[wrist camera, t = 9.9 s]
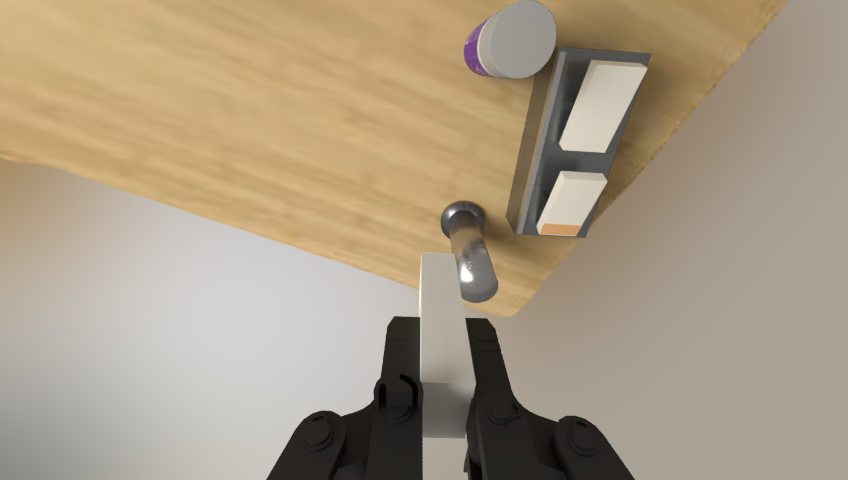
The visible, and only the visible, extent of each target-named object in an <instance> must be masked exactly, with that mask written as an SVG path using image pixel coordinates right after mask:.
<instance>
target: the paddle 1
mask: <svg viewBox="0 0 848 480" xmlns="http://www.w3.org/2000/svg"><path fill="white" fill-rule="evenodd" d="M647 69H648V68H647V67H645V66H644V65H642V64H640V63H629V62H615V61H601V60H591V62H590V65H589V68H588V70H587V73H586V75H585V78H584V80H583V83H582V86H581V88H580V91H579V93H578V96H577V98H576V101H575V104H574V106H573V109H572V111H571V114H570V116H569V119H568V122H567V124H566V127H565V129H564V132H563V135H562V137H561V140H560V142H559V145H560V146H561V148H562V149H563V150H569V151H584V152H600V153H605V151H606V149H607V147H608V145H609V143H610V141H611V139H612V137H613V136H614V134H615V132H616V130H617V128H618V126H619V124H620V122H621V120H622V118H623V116H624V114H625V112H626V110H627V108H628V106H629V104H630V102H631V100H632V98H633V96H634V94H635V92H636V90H637V88H638V86H639V84H640V83H641V81H642V79H643V77H644V75H645V73H646V71H647Z"/></svg>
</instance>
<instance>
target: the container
mask: <svg viewBox="0 0 848 480" xmlns="http://www.w3.org/2000/svg"><path fill="white" fill-rule="evenodd" d="M556 38H557V29H556V23H555V20H554V17H553V15H552V13H551V12H550V10H549V9H548V8H547V7H546V6H545V5H543V4H542V3H540V2H537V1H534V0H523V1H519V2H516V3H514V4H512V5H510V6H509V7H507V8H505V9H503V10H501V11H500V12H498V13H496V14H494V15H493V16H492V17H490V18H489V19H487V20H486V21H485V22H483V23H482V24H481V25H479V26H478V27H477V28H475V29H474V30H473V31H472V32H471V33H470V35H469V36H468V38H467V40H466V42H465V46H464V58H465V62H466V64H467V66H468V67H469V68H470V69H471V70H472V71H473V72H475V73H477V74H480V75H485V76H491V77H496V78H512V79H521V78H526V77H529V76H531V75H533V74H535V73H537V72H538V71H539V70H540V69H542V68H543V67H544V65H545V64H546V63H547V62H548V60H549V59H550V57H551V55H552V53H553V50H554V48H555V44H556Z"/></svg>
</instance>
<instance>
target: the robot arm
mask: <svg viewBox="0 0 848 480" xmlns="http://www.w3.org/2000/svg"><path fill="white" fill-rule="evenodd" d="M466 432H467V442H468V449H467V453H466V458H465V462H464V472H467V471H468V479H469V480H635V479H634V478H633V476H632V475H631V473H630V472H629V470H628V469H627V468H626V466H625V465H624V463H623V462H622V461H621V459H620V458H619V456H618V455H617V454H616V452H615V451H614V449H613V448H612V446H611V445H610V443H609V442H608V441H607V439H606V438H605V437H604V435H603V434H602V433H601V432H600V431H599V429H598V428H597V427H596V426H595V425H593V424H592V423H590V422H589V421H587V420H586V419H583V418H581V417H577V416H565V417H563V418H562V419H560V420H559V422H556V421H553V420H550V419H547V418H544V417H541V416H538V415H536V414H534V413H532V412H530V411H528V410H527V409H525V408H524V407H523V406H522V405H521V404H520V403H519V402H518V401H517V399H516V398H515V396H514V395H513V392H512V390H511V386H510V382H509V379H508V375H507V372H506V368H505V364H504V360H503V356H502V354H501V349H500V345H499V343H498V338H497V334H496V330H495V328H494V327H493V326H492V324H491V323H490V322H489V321H488V319H484V318H465V315H464V309H463V302H462V296H461V290H460V284H459V278H458V272H457V266H456V260H455V254H454V253H429V252H422V253H421V272H420V291H419V317H399V316H398V317H397V316H395V317H394V318H393V319H392V321H391V322H390V323H389V325H388V327H387V334H386V342H385V350H384V357H383V365H382V372H381V378H380V379H379V380H378V381H377V383H376V385H375V388H374V400H373V401H372V402H371V404H369V405H368V406H366V407H365V408H364V409H362V410H359V411H357V412H354V413H351V414H347V415H344V416H341V417H340V415H338V414H336V413H334V412H332V411H319V412H316V413H313V414H311V415H310V416H308V417H307V418H305V419H304V420H303V421H302V422H301V423H300V424H299V426H298V427H297V428H296V430H295V431H294V433H293V435H292V437H291V438H290V440H289V442H288V443H287V445H286V447H285V449H284V450H283V452H282V454H281V456H280V457H279V459H278V461H277V462H276V464H275V466H274V467H273V469H272V471H271V473H270V474H269V476H268V478H267V479H266V480H423V479H422V478H423V474H422V437H425V438H426V437H427V438H465V434H466Z"/></svg>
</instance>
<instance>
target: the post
mask: <svg viewBox="0 0 848 480" xmlns="http://www.w3.org/2000/svg"><path fill="white" fill-rule="evenodd" d="M484 222H485V221H484V216H483V213H482V211H481V209H480V208H479V207H478V206H477V205H476V204H474V203H472V202H469V201H458V202H455V203H453V204H451V205H449V206H448V207H447V208H446V209H445V210H444V212H443V214H442V216H441V228H442V231H443V233H444V234H445V235H446V236H447V237H448V238H449V239H450V240H451V247H452V253H454V254H455V260H456V266H457V272H458V278H459V284H460V290H461V296H462V298H463V299H464V300H466V301H469V302H473V303H480V302H484V301H487V300H489V299H490V298H492V297H493V296H494V295H495V293H496V292H497V290H498V281H497V278H496V275H495V272H494V269H493V266H492V263H491V260H490V257H489V254H488V251H487V248H486V245H485V242H484V239H483V236H482V233H481V232H482V230H483V227H484Z"/></svg>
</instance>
